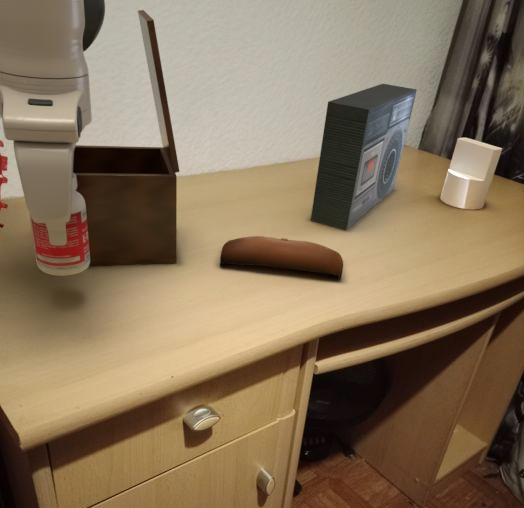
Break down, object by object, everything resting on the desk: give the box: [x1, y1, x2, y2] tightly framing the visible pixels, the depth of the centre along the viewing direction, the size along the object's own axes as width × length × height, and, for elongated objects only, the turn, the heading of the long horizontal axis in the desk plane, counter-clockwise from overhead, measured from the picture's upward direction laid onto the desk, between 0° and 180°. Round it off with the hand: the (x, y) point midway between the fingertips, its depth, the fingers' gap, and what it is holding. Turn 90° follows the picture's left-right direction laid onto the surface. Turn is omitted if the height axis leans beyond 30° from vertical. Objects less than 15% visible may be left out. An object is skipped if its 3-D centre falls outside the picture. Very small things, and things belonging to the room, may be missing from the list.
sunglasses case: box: [219, 235, 344, 279], centre depth 81 cm, size 18×7×7 cm, turn 86°
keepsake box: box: [73, 144, 178, 267], centre depth 79 cm, size 17×14×13 cm
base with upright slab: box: [440, 137, 503, 211], centre depth 112 cm, size 9×9×12 cm
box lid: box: [137, 9, 180, 174], centre depth 72 cm, size 17×14×1 cm
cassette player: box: [310, 83, 418, 231], centre depth 102 cm, size 29×7×20 cm, turn 152°
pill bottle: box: [28, 172, 90, 277], centre depth 63 cm, size 6×6×11 cm
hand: (60, 229), depth 63 cm, fingers closed on pill bottle, 6 cm apart
